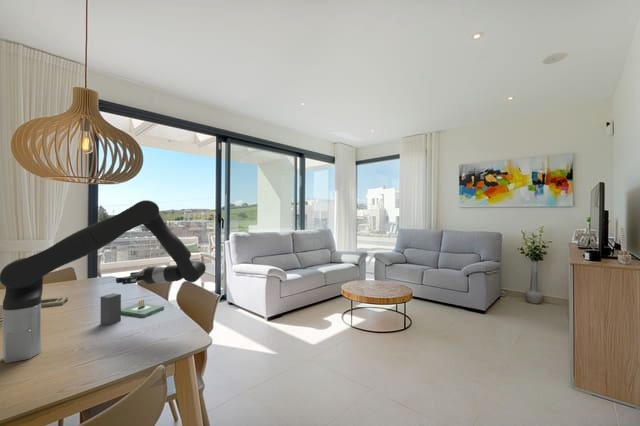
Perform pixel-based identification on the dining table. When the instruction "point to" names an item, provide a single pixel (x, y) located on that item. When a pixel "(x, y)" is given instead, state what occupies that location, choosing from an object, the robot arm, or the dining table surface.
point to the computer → (53, 301)
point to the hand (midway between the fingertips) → (124, 277)
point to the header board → (141, 309)
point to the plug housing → (110, 309)
